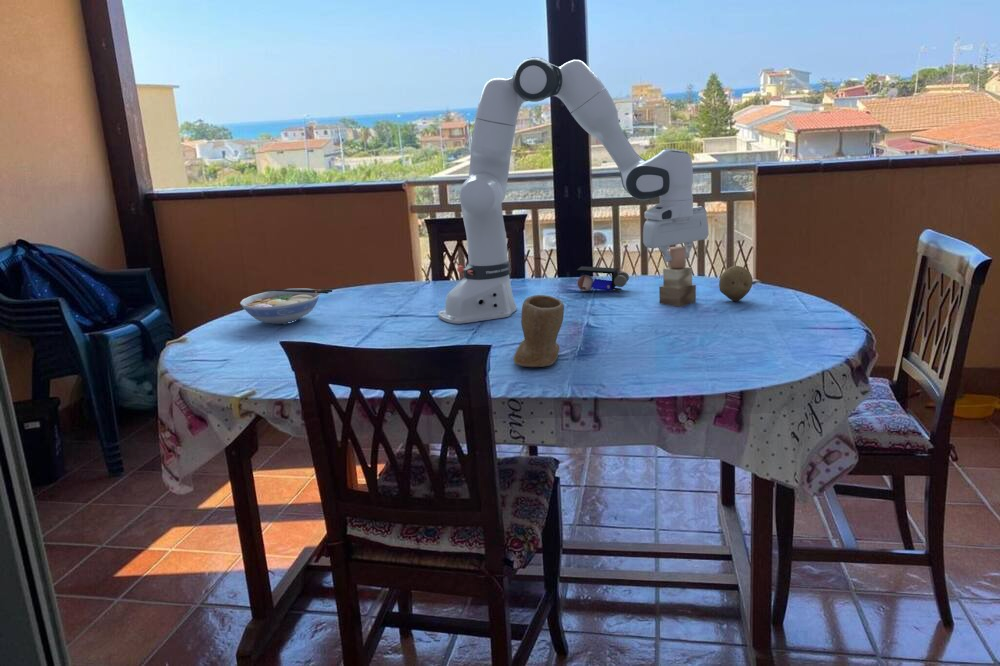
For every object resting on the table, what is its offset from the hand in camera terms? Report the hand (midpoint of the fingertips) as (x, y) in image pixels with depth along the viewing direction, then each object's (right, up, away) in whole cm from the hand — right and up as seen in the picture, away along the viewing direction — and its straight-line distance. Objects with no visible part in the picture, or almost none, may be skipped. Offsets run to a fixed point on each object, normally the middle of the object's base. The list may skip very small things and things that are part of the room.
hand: (676, 259), depth 222 cm
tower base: (+1, -12, +3) cm, 12 cm away
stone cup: (-39, -27, -38) cm, 61 cm away
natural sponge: (+16, -12, 0) cm, 20 cm away
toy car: (-17, -8, +23) cm, 30 cm away
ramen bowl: (-112, -17, +14) cm, 114 cm away
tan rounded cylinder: (0, -2, 0) cm, 2 cm away
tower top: (+1, -7, +2) cm, 7 cm away
